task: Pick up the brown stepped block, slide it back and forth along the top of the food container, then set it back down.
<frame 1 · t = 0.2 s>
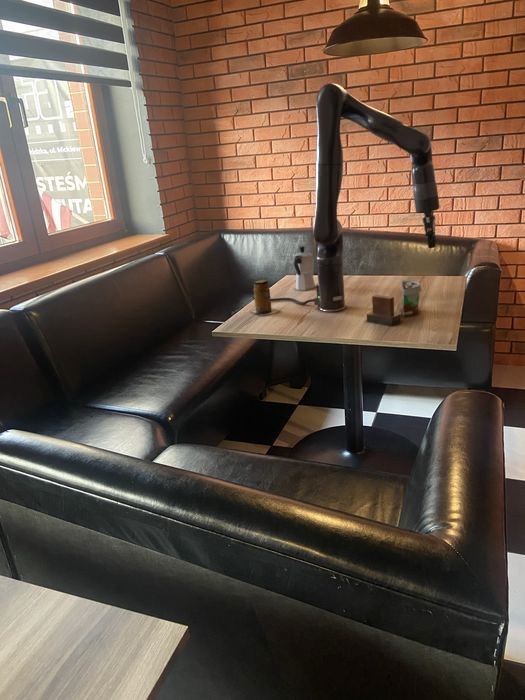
hand: (432, 245, 180), 22 cm above the table, tool pointing down, fingers open, 8 cm apart
coffee maker: (304, 289, 231), on the table
food container: (412, 312, 185), on the table
brown stepped block: (383, 321, 179), on the table
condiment: (264, 312, 204), on the table
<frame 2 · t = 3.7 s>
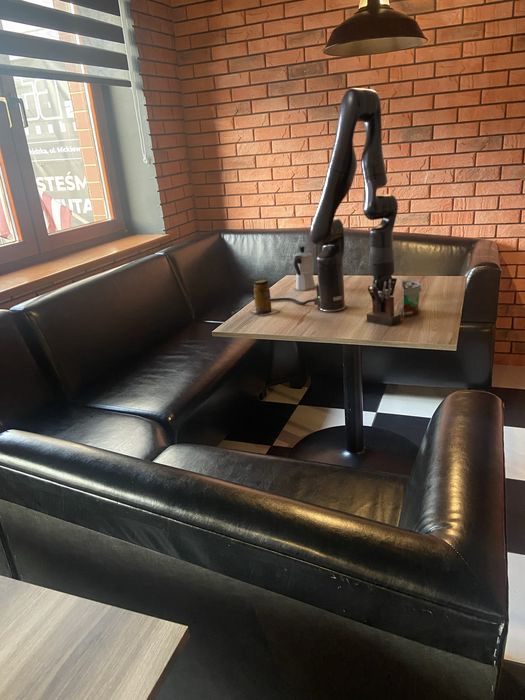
hand: (383, 310, 178), 4 cm above the table, tool pointing down, fingers closed on brown stepped block
brown stepped block: (383, 321, 179), on the table, touching gripper
everything else where it was.
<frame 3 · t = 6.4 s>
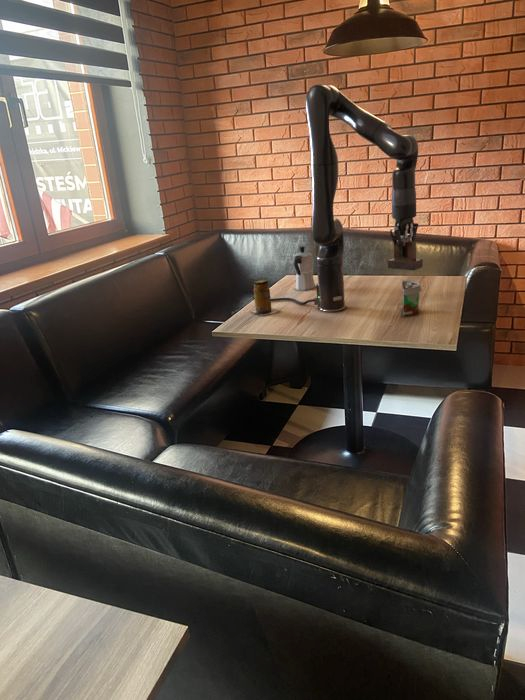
hand: (404, 256, 176), 20 cm above the table, tool pointing down, fingers closed on brown stepped block
brown stepped block: (405, 267, 177), point 17 cm above the table, touching gripper
everything else where it was.
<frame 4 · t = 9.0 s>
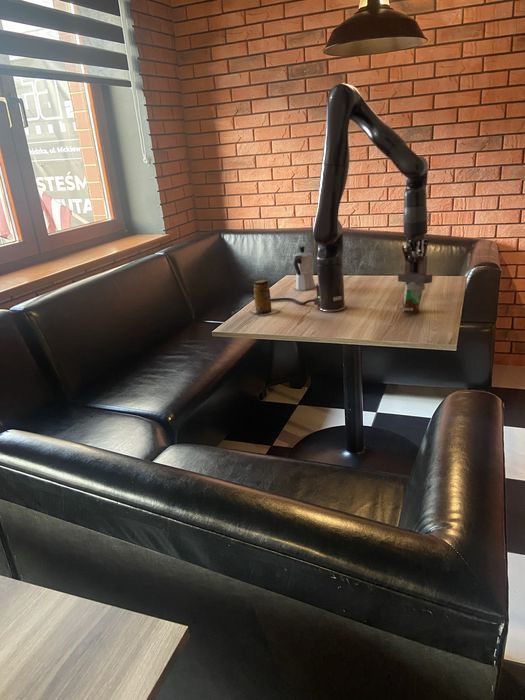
hand: (415, 271, 181), 14 cm above the table, tool pointing down, fingers closed on brown stepped block, 2 cm apart
food container: (412, 311, 185), on the table, touching brown stepped block
brown stepped block: (414, 281, 182), point 11 cm above the table, tilted 9°, touching food container, gripper
everything else where it was.
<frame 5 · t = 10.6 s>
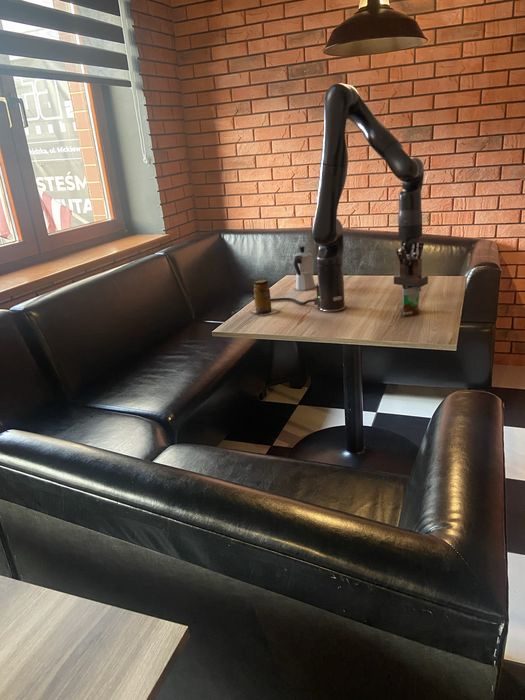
hand: (410, 274, 180), 14 cm above the table, tool pointing down, fingers closed on brown stepped block
food container: (412, 312, 185), on the table
brown stepped block: (410, 283, 181), point 10 cm above the table, touching gripper
everything else where it was.
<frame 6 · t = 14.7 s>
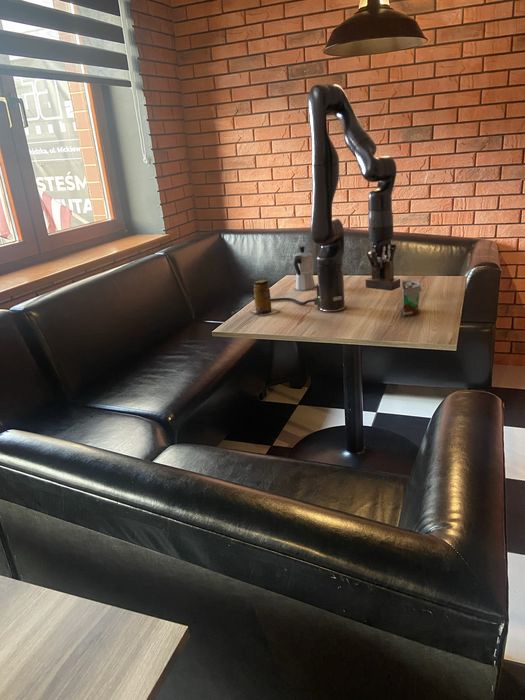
hand: (382, 277, 174), 15 cm above the table, tool pointing down, fingers closed on brown stepped block
brown stepped block: (382, 287, 175), point 12 cm above the table, touching gripper
everything else where it was.
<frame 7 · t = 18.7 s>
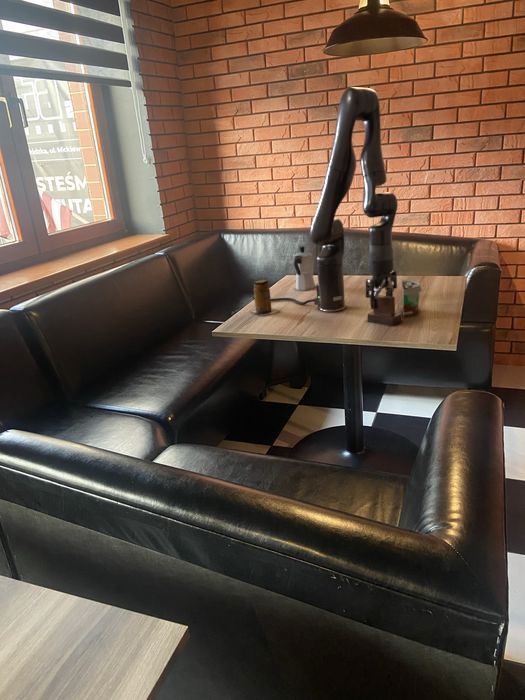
hand: (381, 305, 177), 6 cm above the table, tool pointing down, fingers open, 8 cm apart
brown stepped block: (384, 321, 179), on the table
everything else where it was.
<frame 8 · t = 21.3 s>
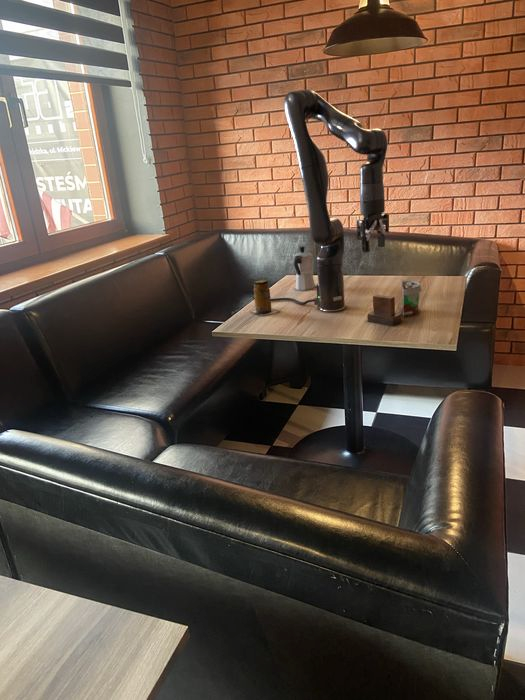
hand: (373, 249, 173), 24 cm above the table, tool pointing down, fingers open, 8 cm apart
nothing on the table moved.
at the end: food container tilted 0°; food container moved 0.2 cm from its start; brown stepped block inside the target area (0.3 cm from its centre), on the table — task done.
